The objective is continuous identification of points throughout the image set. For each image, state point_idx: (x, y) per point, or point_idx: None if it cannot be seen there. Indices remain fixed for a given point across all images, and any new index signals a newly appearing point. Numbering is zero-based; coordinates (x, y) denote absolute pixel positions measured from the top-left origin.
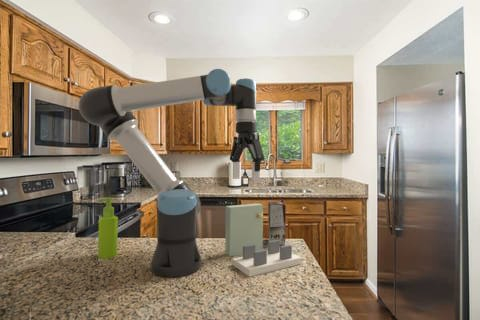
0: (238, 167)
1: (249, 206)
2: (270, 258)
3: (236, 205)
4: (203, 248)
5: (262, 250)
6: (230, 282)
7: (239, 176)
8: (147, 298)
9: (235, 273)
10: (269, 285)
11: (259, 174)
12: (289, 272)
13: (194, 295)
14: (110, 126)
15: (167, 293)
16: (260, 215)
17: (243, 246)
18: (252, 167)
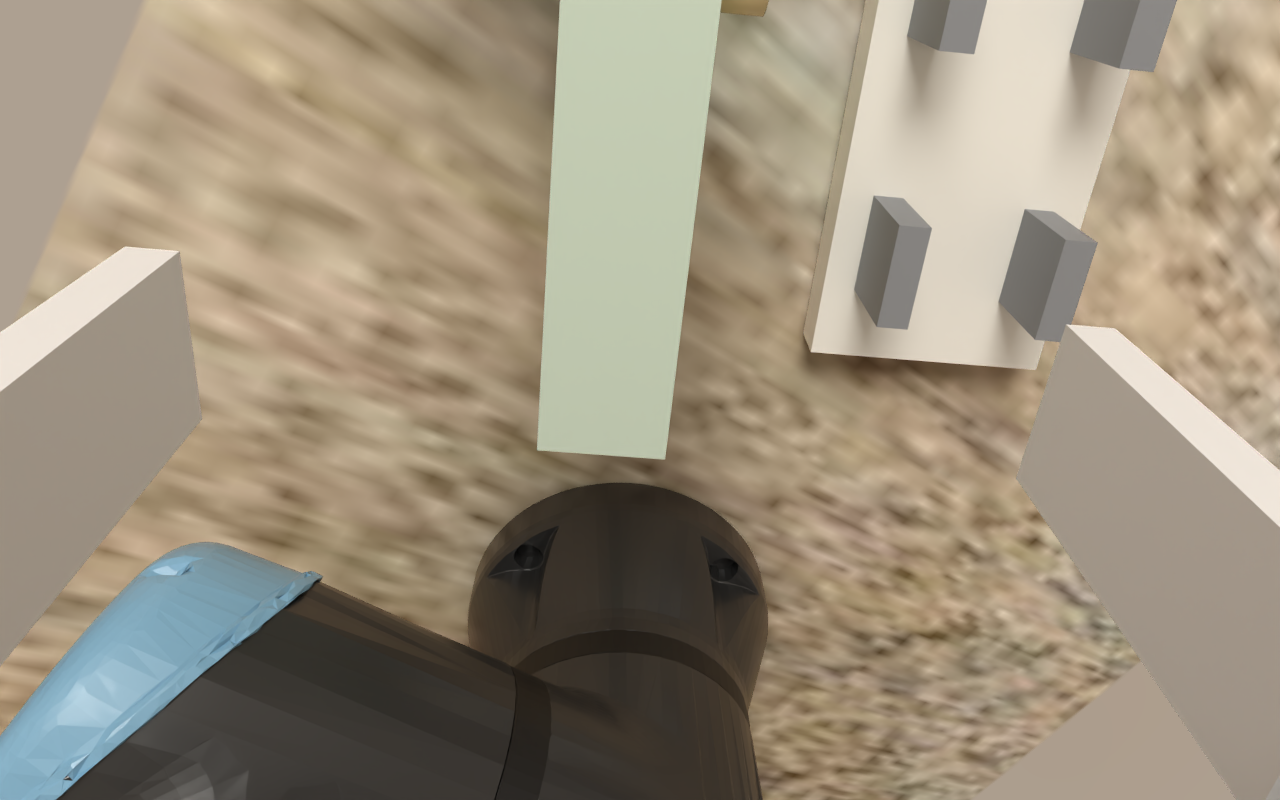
0: (5, 441)
1: (700, 171)
2: (1007, 110)
3: (564, 309)
4: (361, 331)
5: (1071, 270)
6: (990, 470)
7: (151, 277)
8: (858, 775)
9: (920, 388)
10: (1181, 326)
11: (1194, 401)
12: (1180, 81)
13: (971, 646)
14: None
15: (873, 715)
16: None
17: (886, 326)
18: (1190, 693)
